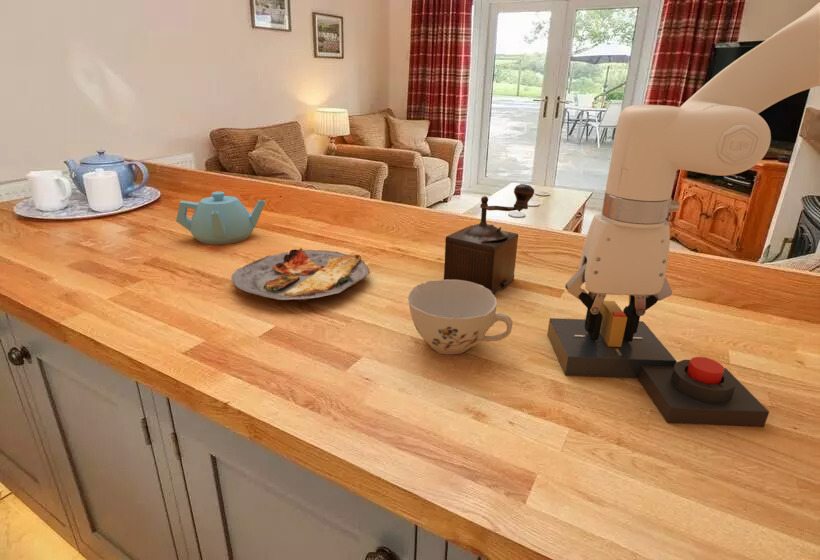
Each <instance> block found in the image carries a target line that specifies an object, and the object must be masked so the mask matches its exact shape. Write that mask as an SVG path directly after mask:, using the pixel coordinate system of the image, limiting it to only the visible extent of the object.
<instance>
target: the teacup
mask: <svg viewBox="0 0 820 560" xmlns="http://www.w3.org/2000/svg"><path fill="white" fill-rule="evenodd" d="M407 298H408V299H407V300H408V306H409V312H410V316H411V320H412V323H413V326H414V327H415V329H416V331H417V332H418V334H419V335H420V337H421V338H422V339H423V340H424V341H425V343H426V344H428V345H429V346H430V348H431V349H432V350H433V351H435V352H437V353H439V354H442V355H459V354H463V353H465V352H467V351H468V350H469V349H471V348H472V347H474V346H475V345H477V344H478V343H481V342H498V341H502V340H504V339H506V338H507V337H509V335H510V334H511V333H512V330H513V320H512V318H511V316H510V315H508V314H506V313H502V312H501V313H500V312H499V313H496V312H497V309H498V308H497V307H498V298H497V297H496V296H495V294H492V292H491V291H490V290H489V289H487V288H485V287H484V286H482V285H479V284H476V283H472V282H469V281H463V280H444V279H440V280H429V281H427V282H425V283H424V282H422V283H420V284H417V285H416V286H414V287H413V288H412V290H410V292H409V294H408V297H407ZM497 322H503V323H505V325H506V330H505V331H503V332H501V333H500V334H495V335H487V333H488V331H489V329H490V328H492V327H493V326H494V325H495V324H496V323H497Z"/></svg>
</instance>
